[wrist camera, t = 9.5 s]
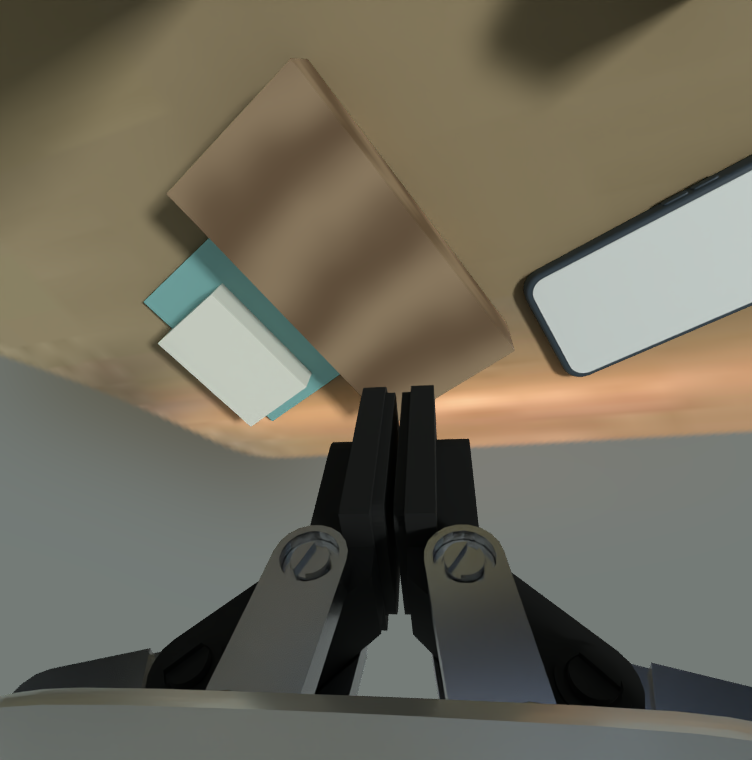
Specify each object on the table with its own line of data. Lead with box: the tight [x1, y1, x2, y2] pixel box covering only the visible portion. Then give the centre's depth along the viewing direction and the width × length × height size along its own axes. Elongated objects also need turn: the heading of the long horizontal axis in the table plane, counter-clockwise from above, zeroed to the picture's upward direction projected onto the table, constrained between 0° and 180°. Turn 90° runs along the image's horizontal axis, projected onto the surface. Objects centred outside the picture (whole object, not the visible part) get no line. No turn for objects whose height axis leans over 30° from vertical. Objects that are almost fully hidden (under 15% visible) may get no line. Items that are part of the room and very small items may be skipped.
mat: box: [144, 239, 340, 421], centre depth 37 cm, size 13×9×1 cm
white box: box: [158, 283, 312, 426], centre depth 37 cm, size 9×6×2 cm, turn 40°
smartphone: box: [523, 155, 752, 377], centre depth 32 cm, size 9×2×16 cm
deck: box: [166, 58, 515, 420], centre depth 32 cm, size 20×10×4 cm, turn 40°
